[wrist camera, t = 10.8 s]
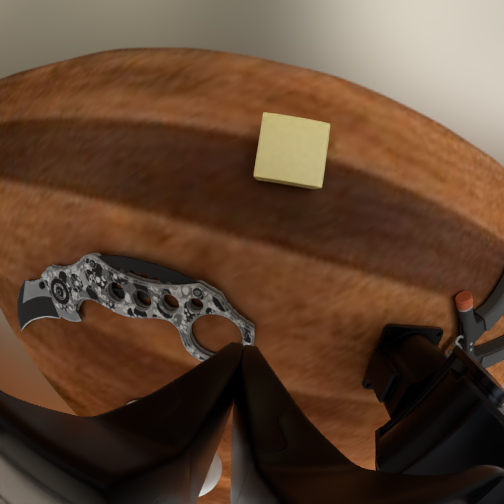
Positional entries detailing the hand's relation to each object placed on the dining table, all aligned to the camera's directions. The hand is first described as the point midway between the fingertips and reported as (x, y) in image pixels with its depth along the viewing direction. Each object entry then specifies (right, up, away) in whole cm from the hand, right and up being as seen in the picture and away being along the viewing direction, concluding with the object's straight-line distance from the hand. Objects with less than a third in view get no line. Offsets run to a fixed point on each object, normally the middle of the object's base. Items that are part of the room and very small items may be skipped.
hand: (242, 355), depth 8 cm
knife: (-14, -1, +13) cm, 19 cm away
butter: (+3, +10, +9) cm, 14 cm away
